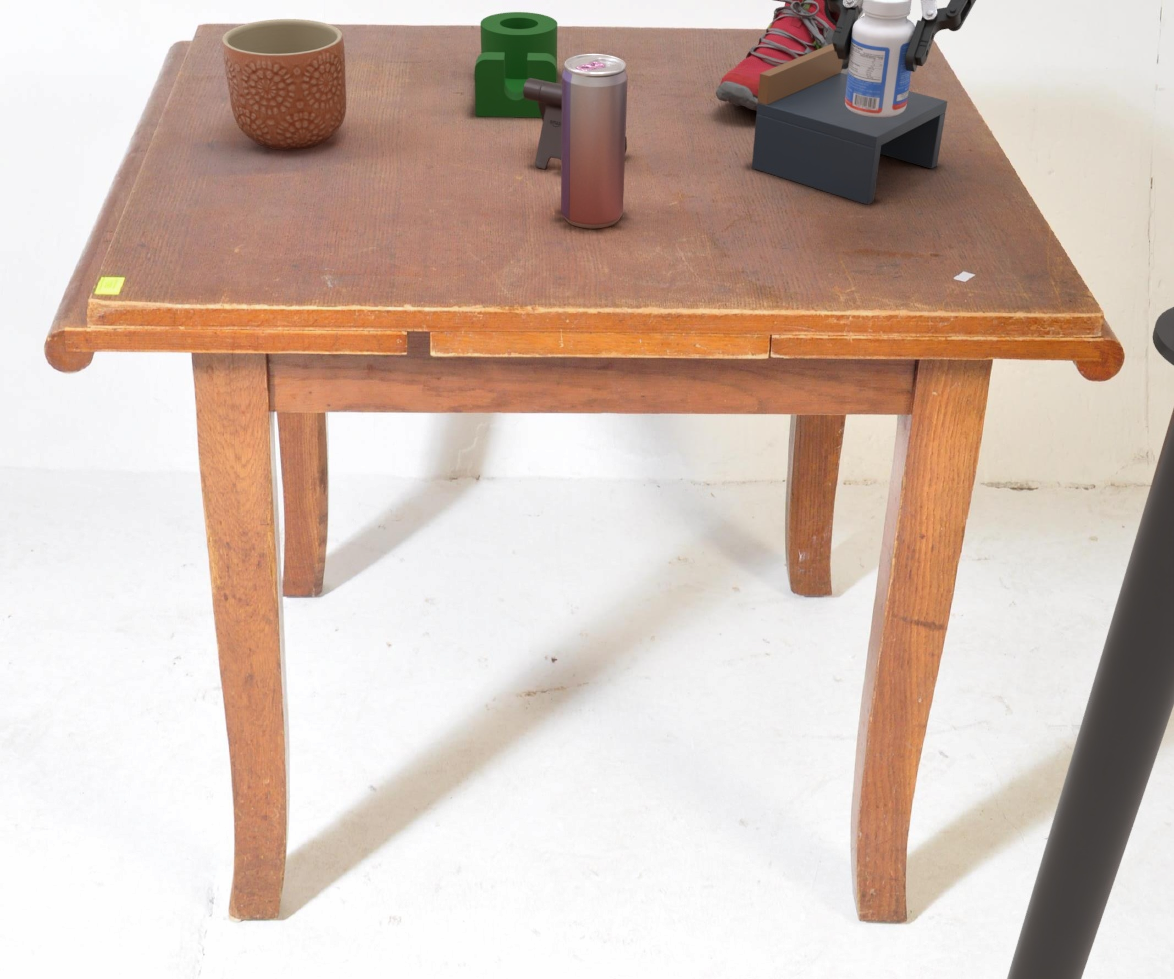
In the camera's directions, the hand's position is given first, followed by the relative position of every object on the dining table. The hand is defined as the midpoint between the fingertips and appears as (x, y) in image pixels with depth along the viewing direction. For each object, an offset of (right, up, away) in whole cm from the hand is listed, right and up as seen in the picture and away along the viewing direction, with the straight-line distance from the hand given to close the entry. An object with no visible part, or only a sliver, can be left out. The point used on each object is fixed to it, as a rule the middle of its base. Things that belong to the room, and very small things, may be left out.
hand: (875, 60), depth 122 cm
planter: (-56, +1, +32) cm, 65 cm away
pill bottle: (+1, -3, +4) cm, 5 cm away
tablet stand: (-26, -2, +28) cm, 39 cm away
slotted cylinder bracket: (-33, +10, +46) cm, 57 cm away
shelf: (+2, -3, +28) cm, 28 cm away
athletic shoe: (-1, +9, +46) cm, 47 cm away
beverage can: (-24, -11, +16) cm, 31 cm away
